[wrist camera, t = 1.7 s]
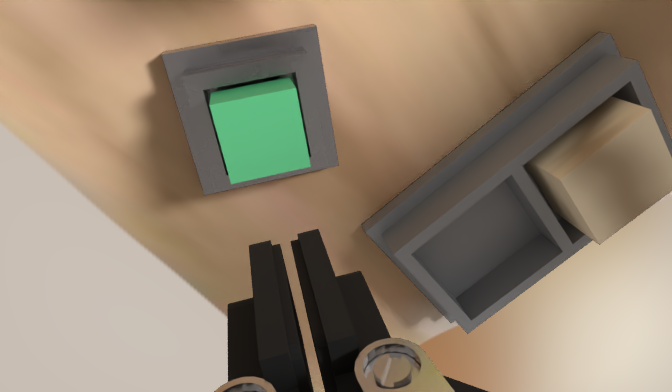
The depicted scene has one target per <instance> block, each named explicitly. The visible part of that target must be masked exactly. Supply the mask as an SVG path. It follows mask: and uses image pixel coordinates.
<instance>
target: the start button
mask: <svg viewBox="0 0 672 392" xmlns="http://www.w3.org/2000/svg"><path fill="white" fill-rule="evenodd" d="M210 109H211V113H212V116H213V120H214V124H215V127H216V131H217V135H218V138H219V142H220V145H221V149H222V153H223V156H224V160H225V164H226V167H227V171H228V175H229V178H230V182H231V184H235V183H239V182H244V181H248V180H253V179H257V178H262V177H266V176H271V175H275V174H280V173H284V172H289V171H293V170H298V169H302V168H307V167H311V165H310V160H309V154H308V149H307V144H306V138H305V133H304V128H303V123H302V117H301V112H300V107H299V101H298V96H297V91H296V87H295V85H294V84H293V82H292V80H291V79H290V77H288V78H283V79H278V80H273V81H268V82H263V83H258V84H252V85H247V86H242V87H237V88H232V89H227V90H222V91H217V92H212V93H211V96H210Z"/></svg>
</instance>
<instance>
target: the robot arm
mask: <svg viewBox="0 0 672 392" xmlns="http://www.w3.org/2000/svg"><path fill="white" fill-rule="evenodd" d="M291 246H292V250H293V255H294V259H295V264H296V268H297V272H298V277H299V281H300V286H301V290H302V294H303V299H304V303H305V308H306V312H307V317H308V321H309V325H310V330H311V334H312V338H313V342H314V347H315V351H316V355H317V359H318V364H319V368H320V372H321V376H322V380H323V385H324V389H325V392H488V391H485V390H482V389H479V388H476V387H474V386H471V385H468V384H465V383H462V382H460V381H457V380H454V379H451V378H449V377H446V376H443V375H442V374H441V373H440V371H439V370H438V369H437V367H436V366H435V365H434V363H433V362H432V361H431V359H430V358H429V357H428V355H427V354H426V353H425V352H424V351H423V350H422V349H421V348H420V347H419V346H418V345H417V344H415V343H413V342H411V341H409V340H404V339H400V338H391V337H390V335H389V332H388V330H387V328H386V326H385V323H384V321H383V319H382V317H381V315H380V312H379V310H378V308H377V306H376V303H375V301H374V299H373V297H372V295H371V292H370V290H369V288H368V286H367V283H366V281H365V279H364V277H363V275H362V273H361V272H360V271H357V272H353V273H349V274H345V275H341V276H337V277H335V274H334V271H333V268H332V266H331V263H330V260H329V257H328V254H327V252H326V249H325V246H324V243H323V241H322V238H321V235H320V232H319V230H318V229H316V230H312V231H308V232H303V233H299V234H298V240H294V241H291ZM249 253H250V265H251V276H252V288H253V298H250V299H246V300H242V301H238V302H234V303H230V304H228V382H227V383H226V384H224V385H222V386H220V387H219V388H218V389H217V390H216V391H214V392H314V391H313V387H312V382H311V377H310V372H309V368H308V363H307V358H306V353H305V349H304V344H303V339H302V334H301V330H300V326H299V322H298V317H297V313H296V309H295V305H294V301H293V296H292V292H291V288H290V284H289V280H288V276H287V271H286V267H285V263H284V259H283V255H282V250H281V246H280V244H277V245H273V246H272V244H271V241H265V242H261V243H257V244H253V245H249Z"/></svg>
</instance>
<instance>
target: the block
mask: <svg viewBox="0 0 672 392" xmlns="http://www.w3.org/2000/svg"><path fill="white" fill-rule="evenodd" d="M525 166H526V168H527V169H528V171H529V172H530V174H531V175H532V177H533V179H534V180H535V182H536V183H537V185H538V186H539V188H540V189H541V191H542V193H543V194H544V196H545V197H546V199H547V200H548V202H549V204H550V205H551V207H552V208H553V210H554V211H555V212H556V213H557V214H558V215H560V216H561V217H562V218H564V219H565V220H566V221H568V222H569V223H571V224H572V225H573V226H575V227H576V228H577V229H579V230H580V231H581V232H583V233H584V234H585V235H587V236H588V237H590V238H591V239H592V240H594V241H595V242H596V243H598V244H599V245H600V244H601V243H602V242H604V241H605V240H606V239H608V238H609V237H610V236H612V235H613V234H614V233H616V232H617V231H618V230H620V229H621V228H622V227H624V226H625V225H626V224H628V223H629V222H630V221H632V220H633V219H635V218H636V217H637V216H638V215H640V214H641V213H643V212H644V211H645V210H646V209H648V208H649V207H651V206H652V205H653V204H655V203H656V202H657V201H659V200H660V199H661V198H663V197H664V196H665V195H667V194H668V193H669V192H671V191H672V157H671V155H670V152H669V150H668V148H667V146H666V143H665V141H664V139H663V136H662V134H661V132H660V129H659V127H658V125H657V123H656V120H655V118H654V116H653V113H652V111H651V109H649V108H645V107H642V106H639V105H636V104H633V103H630V102H627V101H624V100H621V99H618V98H615V97H612V96H611V97H609V98H608V99H607V100H606V101H604V102H603V103H602V104H600V105H599V106H598V107H597V108H595V109H594V110H593V111H592V112H590V113H589V114H588V115H587V116H585V117H584V118H583V119H581V120H580V121H579V122H578V123H576V124H575V125H574V126H573V127H571V128H570V129H569V130H568V131H566V132H565V133H564V134H562V135H561V136H560V137H559V138H557V139H556V140H555V141H554V142H552V143H551V144H550V145H549V146H547V147H546V148H545V149H543V150H542V151H541V152H540V153H538V154H537V155H536V156H535V157H533V158H532V159H531V160H530V161H528V162H527V163H526V164H525Z"/></svg>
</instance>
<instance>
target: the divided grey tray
mask: <svg viewBox="0 0 672 392" xmlns="http://www.w3.org/2000/svg"><path fill="white" fill-rule="evenodd" d="M611 96H612V97H615V98H618V99H621V100H624V101H627V102H630V103H633V104H636V105H639V106H642V107H645V108H649V109H651V111H652V113H653V116H654V118H655V120H656V123H657V125H658V127H659V129H660V132H661V134H662V136H663V139H664V141H665V143H666V146H667V148H668V150H669V152H670V155H671V157H672V140H671V138H670V135H669V133H668V130H667V128H666V126H665V123H664V121H663V119H662V116H661V114H660V112H659V109H658V107H657V105H656V102H655V100H654V98H653V95H652V93H651V90H650V88H649V86H648V83H647V81H646V79H645V76H644V74H643V72H642V69H641V67H640V65H639V62H638V60H633V59H629V58H624V57H621V56H620V53H619V51H618V49H617V47H616V44H615V42H614V40H613V38H612V35H611V34H609V33H603V32H599V33H597V34H596V35H595V36H594V37H592V38H591V39H590V40H589V41H588V42H586V43H585V44H584V45H583V46H581V47H580V48H579V49H578V50H576V51H575V52H574V53H573V54H571V55H570V56H569V57H568V58H567V59H565V60H564V61H563V62H562V63H560V64H559V65H558V66H557V67H555V68H554V69H553V70H552V71H551V72H549V73H548V74H547V75H546V76H544V77H543V78H542V79H541V80H539V81H538V82H537V83H536V84H535V85H533V86H532V87H531V88H530V89H528V90H527V91H526V92H525V93H523V94H522V95H521V96H520V97H519V98H517V99H516V100H515V101H514V102H512V103H511V104H510V105H509V106H507V107H506V108H505V109H504V110H503V111H501V112H500V113H499V114H498V115H496V116H495V117H494V118H493V119H491V120H490V121H489V122H488V123H486V124H485V125H484V126H483V127H482V128H480V129H479V130H478V131H477V132H475V133H474V134H473V135H472V136H470V137H469V138H468V139H467V140H466V141H464V142H463V143H462V144H461V145H459V146H458V147H457V148H456V149H454V150H453V151H452V152H451V153H450V154H448V155H447V156H446V157H445V158H443V159H442V160H441V161H440V162H438V163H437V164H436V165H435V166H434V167H432V168H431V169H430V170H429V171H427V172H426V173H425V174H424V175H422V176H421V177H420V178H419V179H418V180H416V181H415V182H414V183H413V184H411V185H410V186H409V187H408V188H406V189H405V190H404V191H403V192H401V193H400V194H399V195H398V196H397V197H395V198H394V199H393V200H392V201H390V202H389V203H388V204H387V205H385V206H384V207H383V208H382V209H381V210H379V211H378V212H377V213H376V214H374V215H373V216H372V217H371V218H369V219H368V220H367V221H366V222H365V223H363V224H362V227H363V229H364V231H365V233H366V234H367V235H368V236H369V237H370V238H371V239H372V240H373V241H374V242H375V243H376V244H377V245H378V246H379V248H380V249H381V250H382V251H383V252H384V253H385V254H386V255H387V256H388V257H389V258H390V259H391V260H392V261H393V262H394V263H395V264H396V266H397V267H398V268H399V269H400V270H401V271H402V272H403V273H404V274H405V275H406V276H407V277H408V278H409V279H410V280H411V281H412V282H413V283H414V285H415V286H416V287H417V288H418V289H419V290H420V291H421V292H422V293H423V294H424V295H425V296H426V297H427V298H428V299H429V300H430V301H431V303H432V304H433V305H434V306H435V307H436V308H437V309H438V310H439V311H440V312H441V313H442V314H443V315H444V316H445V317H446V318H447V319H448V320H449V322H450V323H452V322H454V321H456V322H457V323H458V324H459V325H460V326H461V327H462V328H463V329H464V330H465V332H466V333H467V334H468V333H469V332H471V331H472V330H474V329H475V328H476V327H478V325H480V324H482V323H483V322H484V321H486V320H487V319H488V318H489V317H491V316H492V315H493V314H495V313H496V312H498V311H499V310H500V309H502V308H503V307H504V306H506V305H507V304H508V303H509V302H511V301H512V300H514V299H515V298H516V297H517V296H519V295H520V294H522V293H523V292H524V291H525V290H527V289H528V288H530V287H531V286H532V285H534V284H535V283H536V282H537V281H539V280H540V279H541V278H543V277H544V276H546V275H547V274H548V273H550V272H551V271H552V270H554V269H555V268H556V267H558V266H559V265H560V264H562V263H563V262H564V261H565V260H567V259H568V258H570V257H571V256H572V255H574V254H575V253H576V252H578V251H579V250H580V249H582V248H583V247H584V246H586V245H587V244H588V243H590V242H591V241H592V239H591V238H590V237H588V236H587V235H585V234H584V233H583V232H581V231H580V230H579V229H577V228H576V227H575V226H573V225H572V224H571V223H569V222H568V221H566V220H565V219H564V218H562V217H561V216H560V215H558V214H557V213H556V212H555V211H554V210H553V208H552V207H551V205H550V204H549V202H548V200H547V199H546V197H545V196H544V194H543V193H542V191H541V189H540V188H539V186H538V185H537V183H536V182H535V180H534V179H533V177H532V175H531V174H530V172H529V171H528V169H527V168H526V166H525V164H526V163H527V162H528V161H530V160H531V159H532V158H533V157H535V156H536V155H537V154H538V153H540V152H541V151H542V150H543V149H545V148H546V147H547V146H549V145H550V144H551V143H552V142H554V141H555V140H556V139H557V138H559V137H560V136H561V135H562V134H564V133H565V132H566V131H568V130H569V129H570V128H571V127H573V126H574V125H575V124H576V123H578V122H579V121H580V120H581V119H583V118H584V117H585V116H587V115H588V114H589V113H590V112H592V111H593V110H594V109H595V108H597V107H598V106H599V105H600V104H602V103H603V102H604V101H606V100H607V99H608V98H609V97H611Z"/></svg>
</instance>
